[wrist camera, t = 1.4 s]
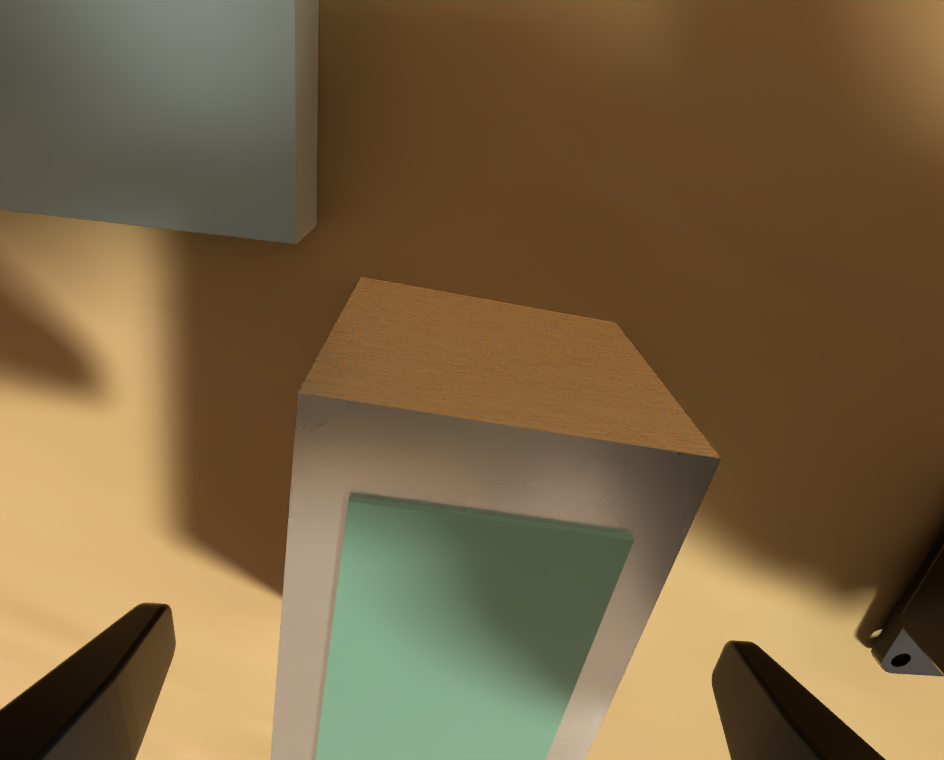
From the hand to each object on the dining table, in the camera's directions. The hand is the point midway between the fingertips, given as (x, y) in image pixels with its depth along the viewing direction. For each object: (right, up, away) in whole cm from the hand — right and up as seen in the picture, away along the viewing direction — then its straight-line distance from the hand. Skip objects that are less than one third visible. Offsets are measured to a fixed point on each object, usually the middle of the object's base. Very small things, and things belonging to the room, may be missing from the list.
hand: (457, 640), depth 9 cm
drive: (0, +2, +4) cm, 4 cm away
